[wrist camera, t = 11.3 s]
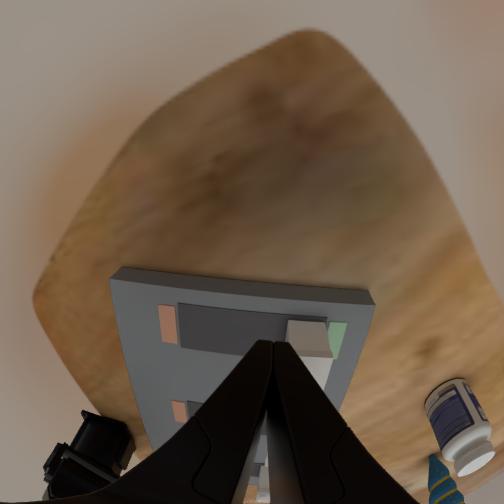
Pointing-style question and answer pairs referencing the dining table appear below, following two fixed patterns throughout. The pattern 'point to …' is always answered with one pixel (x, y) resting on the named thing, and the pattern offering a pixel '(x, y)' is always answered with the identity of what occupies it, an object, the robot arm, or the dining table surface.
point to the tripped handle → (311, 347)
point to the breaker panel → (220, 338)
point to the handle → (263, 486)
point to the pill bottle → (460, 426)
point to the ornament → (442, 484)
